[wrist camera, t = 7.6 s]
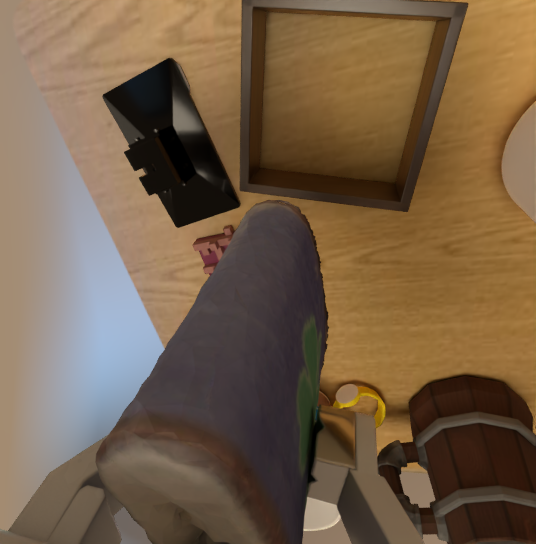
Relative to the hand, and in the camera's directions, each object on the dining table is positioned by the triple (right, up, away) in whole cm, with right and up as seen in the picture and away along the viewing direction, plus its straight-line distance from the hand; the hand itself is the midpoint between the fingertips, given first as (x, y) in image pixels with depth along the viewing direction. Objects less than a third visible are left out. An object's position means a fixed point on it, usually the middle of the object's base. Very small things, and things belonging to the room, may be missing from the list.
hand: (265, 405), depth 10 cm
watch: (+12, -15, +32) cm, 37 cm away
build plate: (-8, +14, +21) cm, 26 cm away
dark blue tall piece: (+1, +3, +4) cm, 5 cm away
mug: (+20, -12, +31) cm, 39 cm away
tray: (+5, +16, +16) cm, 23 cm away
